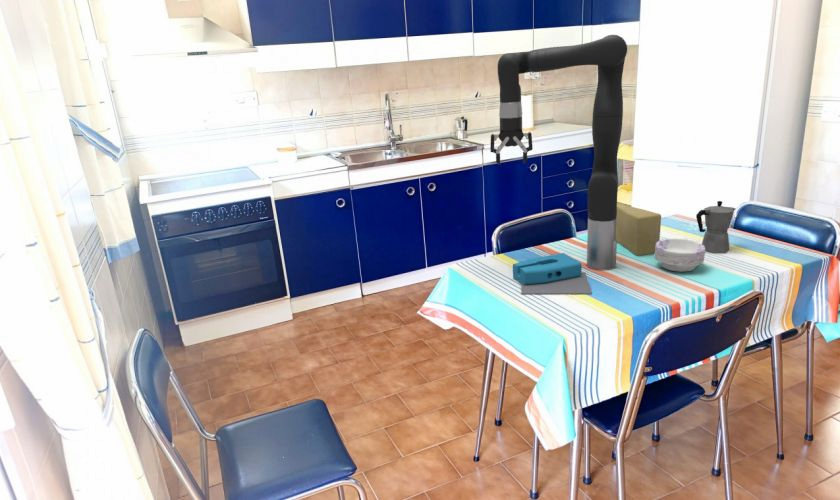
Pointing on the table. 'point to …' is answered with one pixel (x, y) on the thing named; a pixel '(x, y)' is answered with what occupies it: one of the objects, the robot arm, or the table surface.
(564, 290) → the mat
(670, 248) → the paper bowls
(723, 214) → the coffeepot
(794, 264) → the table surface
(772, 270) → the table surface
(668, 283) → the table surface
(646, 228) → the tan rectangular box
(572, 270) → the block
